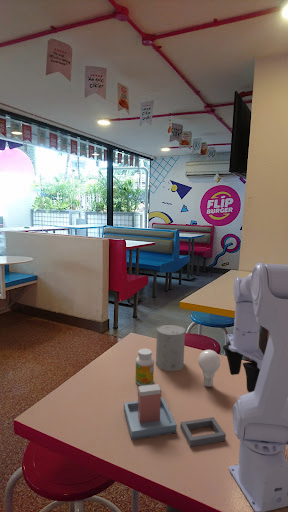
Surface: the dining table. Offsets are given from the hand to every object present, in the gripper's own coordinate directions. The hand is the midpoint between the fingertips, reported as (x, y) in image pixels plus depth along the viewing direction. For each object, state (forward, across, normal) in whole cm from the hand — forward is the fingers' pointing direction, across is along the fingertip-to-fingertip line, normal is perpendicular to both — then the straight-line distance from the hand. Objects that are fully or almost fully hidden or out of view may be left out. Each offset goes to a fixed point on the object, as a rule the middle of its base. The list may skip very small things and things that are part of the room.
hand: (242, 382), depth 72 cm
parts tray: (+10, -5, -22) cm, 25 cm away
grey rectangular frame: (+10, +2, -11) cm, 15 cm away
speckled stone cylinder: (+11, -31, -8) cm, 34 cm away
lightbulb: (+11, -16, -1) cm, 19 cm away
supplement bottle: (+11, -22, -19) cm, 31 cm away
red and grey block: (+10, -5, -22) cm, 25 cm away
